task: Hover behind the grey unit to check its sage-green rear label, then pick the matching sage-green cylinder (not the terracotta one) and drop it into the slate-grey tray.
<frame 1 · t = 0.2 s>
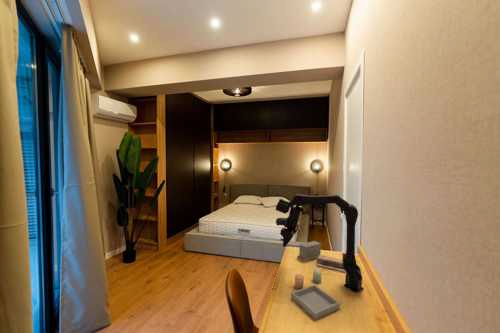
hand: (286, 243, 115), 15 cm above the table, tool pointing down, fingers open, 9 cm apart
packaged product: (333, 267, 122), on the table
sage part: (316, 280, 107), on the table
grey unit: (309, 258, 132), on the table
terracotta part: (298, 286, 101), on the table
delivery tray: (314, 303, 89), on the table
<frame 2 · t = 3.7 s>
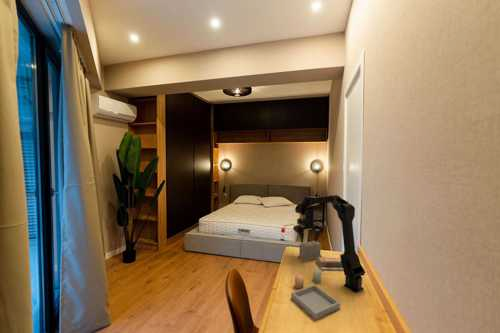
hand: (308, 242, 130), 11 cm above the table, tool pointing down, fingers open, 9 cm apart
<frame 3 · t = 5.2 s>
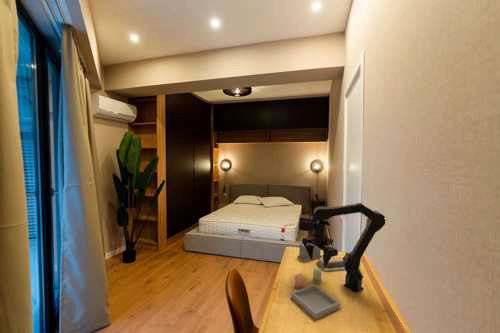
hand: (318, 262, 106), 9 cm above the table, tool pointing down, fingers open, 9 cm apart
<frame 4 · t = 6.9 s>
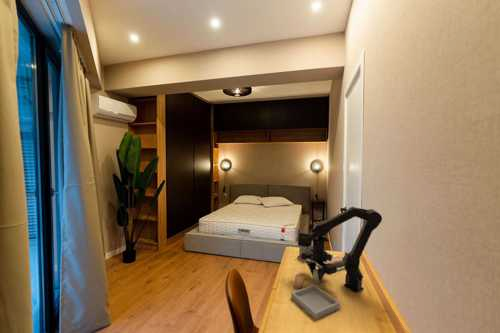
hand: (316, 278, 107), 1 cm above the table, tool pointing down, fingers closed on sage part, 4 cm apart
sage part: (316, 280, 107), on the table, touching gripper
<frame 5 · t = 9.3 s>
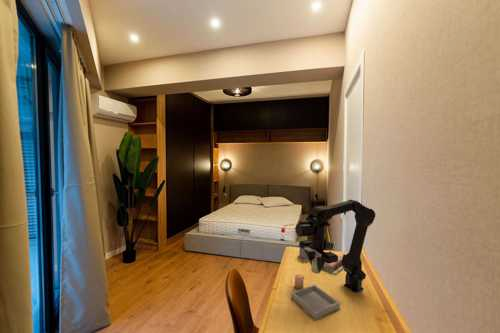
hand: (316, 269, 96), 11 cm above the table, tool pointing down, fingers closed on sage part, 4 cm apart
sage part: (315, 271, 96), point 10 cm above the table, touching gripper
when the fingers open (3 cm above the table, at t = 12.0 s): sage part drops 2 cm, resting on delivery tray.
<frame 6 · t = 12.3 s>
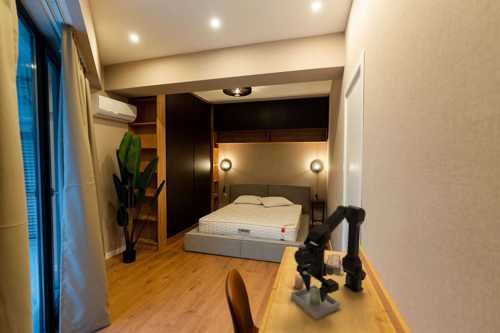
hand: (315, 296, 89), 3 cm above the table, tool pointing down, fingers open, 8 cm apart
sage part: (314, 302, 89), point 1 cm above the table, touching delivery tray
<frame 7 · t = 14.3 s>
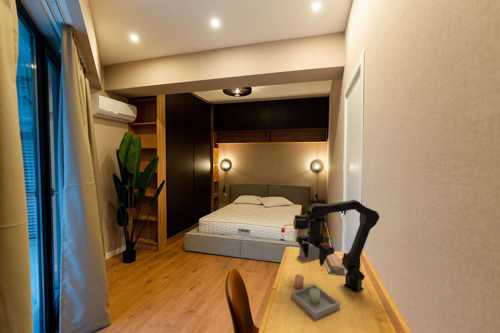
hand: (313, 261, 103), 11 cm above the table, tool pointing down, fingers open, 9 cm apart
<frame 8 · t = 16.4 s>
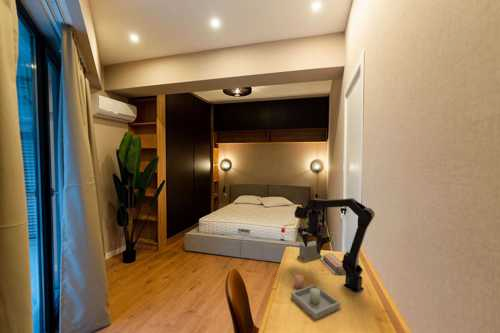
hand: (312, 249, 115), 12 cm above the table, tool pointing down, fingers open, 9 cm apart
at the end: sage part inside the target area on the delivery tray (0.0 cm from its centre), point 0.6 cm above the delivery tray's base; sage part tilted 0°; the gripper is holding nothing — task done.
